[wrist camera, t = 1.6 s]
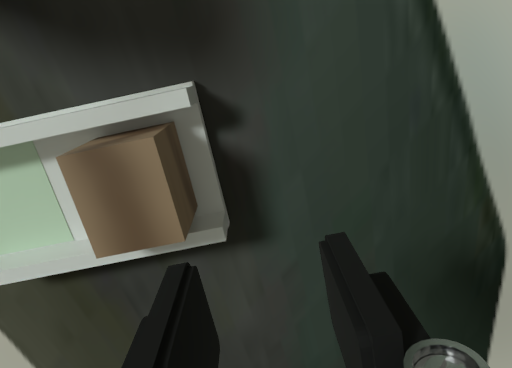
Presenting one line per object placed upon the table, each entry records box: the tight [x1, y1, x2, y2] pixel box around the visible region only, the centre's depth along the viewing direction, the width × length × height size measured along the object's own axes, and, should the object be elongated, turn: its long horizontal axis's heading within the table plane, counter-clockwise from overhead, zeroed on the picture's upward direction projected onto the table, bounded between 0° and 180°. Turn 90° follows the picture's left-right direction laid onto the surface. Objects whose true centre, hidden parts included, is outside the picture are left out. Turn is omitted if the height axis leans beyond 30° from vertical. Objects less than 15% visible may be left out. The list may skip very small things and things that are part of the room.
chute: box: [0, 81, 230, 285], centre depth 27 cm, size 20×12×4 cm, turn 102°
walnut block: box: [56, 121, 198, 259], centre depth 25 cm, size 6×7×6 cm
